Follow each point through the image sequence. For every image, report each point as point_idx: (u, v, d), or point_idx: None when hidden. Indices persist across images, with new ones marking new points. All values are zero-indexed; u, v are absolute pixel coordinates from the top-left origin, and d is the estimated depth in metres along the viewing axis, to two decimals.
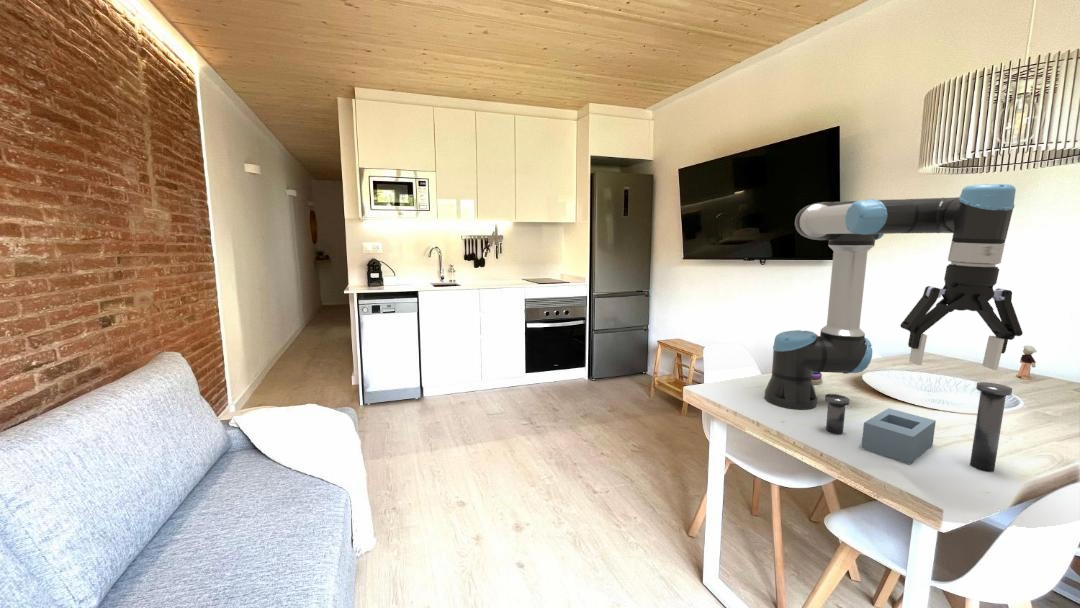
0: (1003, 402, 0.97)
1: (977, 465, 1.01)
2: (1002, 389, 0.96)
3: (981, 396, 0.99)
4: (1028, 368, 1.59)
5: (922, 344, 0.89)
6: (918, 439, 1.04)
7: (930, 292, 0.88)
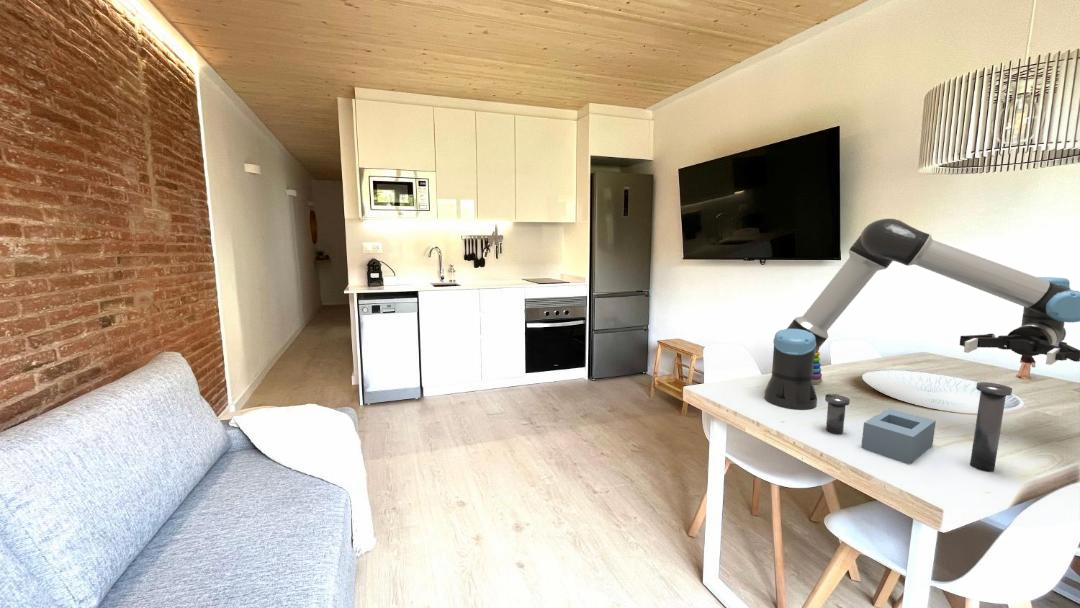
0: (1003, 402, 0.97)
1: (977, 465, 1.01)
2: (1002, 389, 0.96)
3: (981, 396, 0.99)
4: (1028, 368, 1.59)
5: None
6: (918, 439, 1.04)
7: None
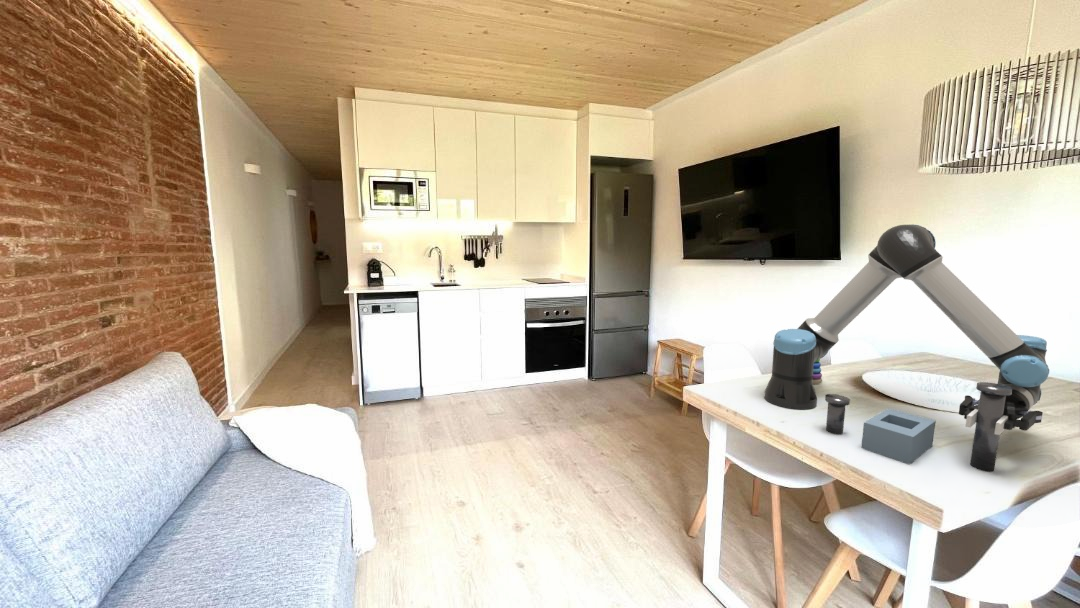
0: (1003, 402, 0.97)
1: (977, 465, 1.01)
2: (1002, 389, 0.96)
3: (981, 396, 0.99)
4: None
5: None
6: (918, 439, 1.04)
7: (1039, 420, 1.00)
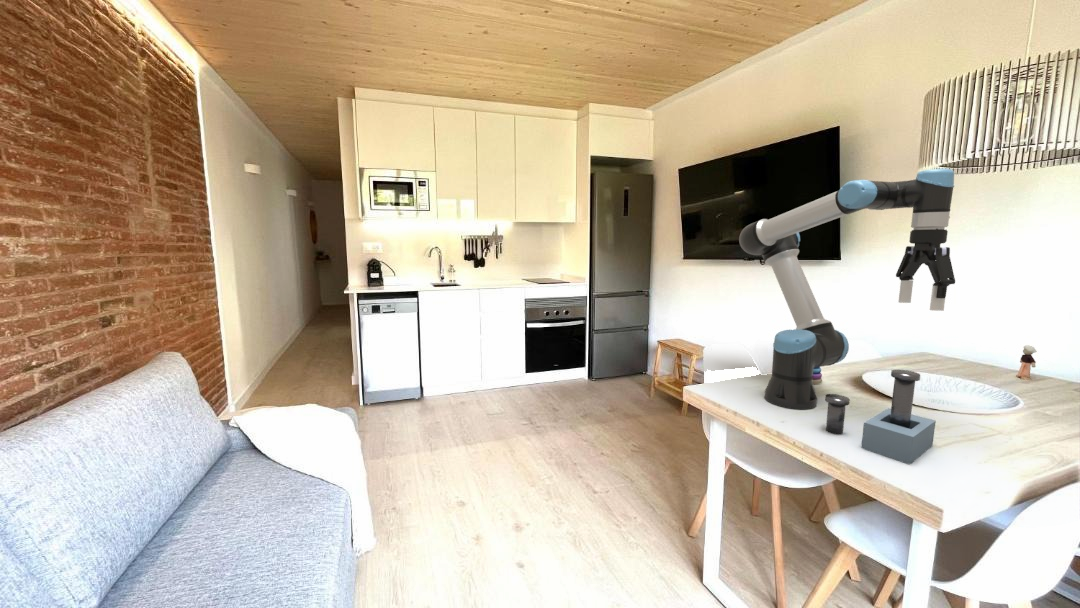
0: (912, 387, 1.07)
1: None
2: (911, 375, 1.07)
3: (894, 382, 1.10)
4: (1028, 368, 1.59)
5: None
6: (918, 439, 1.04)
7: (946, 251, 1.10)
